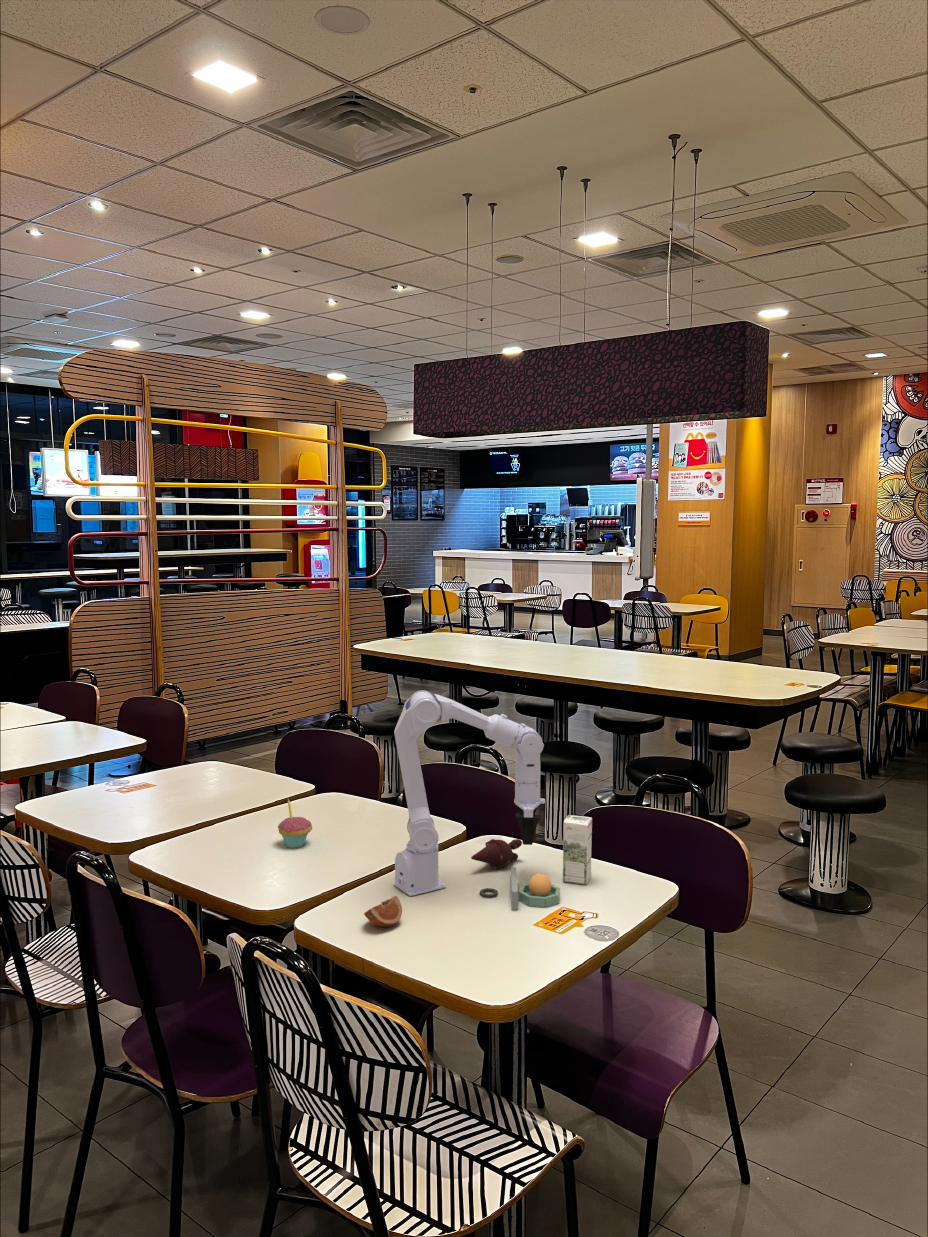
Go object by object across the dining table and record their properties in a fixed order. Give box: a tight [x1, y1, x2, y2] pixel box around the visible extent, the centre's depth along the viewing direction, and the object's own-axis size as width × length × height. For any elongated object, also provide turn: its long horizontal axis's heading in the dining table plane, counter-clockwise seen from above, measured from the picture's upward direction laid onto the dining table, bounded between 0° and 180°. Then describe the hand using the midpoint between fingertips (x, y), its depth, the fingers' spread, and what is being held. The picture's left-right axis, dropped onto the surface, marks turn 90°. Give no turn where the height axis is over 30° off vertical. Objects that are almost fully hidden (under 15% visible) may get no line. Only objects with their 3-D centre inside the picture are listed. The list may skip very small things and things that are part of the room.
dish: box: [518, 882, 561, 909], centre depth 193 cm, size 9×9×2 cm
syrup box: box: [562, 814, 593, 886], centre depth 203 cm, size 6×6×14 cm
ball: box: [527, 873, 552, 897], centre depth 193 cm, size 5×5×5 cm
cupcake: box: [277, 798, 313, 849], centre depth 226 cm, size 9×8×12 cm
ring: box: [479, 887, 499, 899], centre depth 195 cm, size 4×4×1 cm
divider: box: [510, 866, 519, 911], centre depth 194 cm, size 14×1×4 cm, turn 178°
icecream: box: [470, 838, 523, 870], centre depth 211 cm, size 7×7×15 cm
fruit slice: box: [363, 895, 403, 928], centre depth 180 cm, size 8×7×5 cm
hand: (527, 838), depth 203 cm, fingers open, 7 cm apart
